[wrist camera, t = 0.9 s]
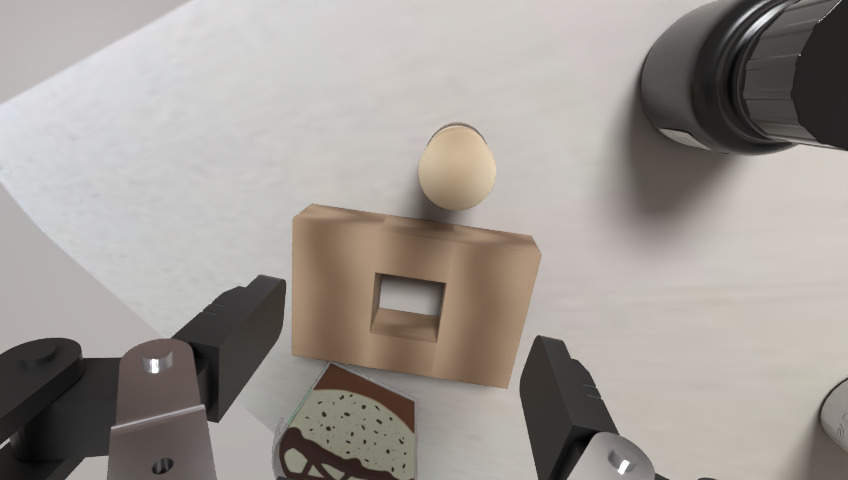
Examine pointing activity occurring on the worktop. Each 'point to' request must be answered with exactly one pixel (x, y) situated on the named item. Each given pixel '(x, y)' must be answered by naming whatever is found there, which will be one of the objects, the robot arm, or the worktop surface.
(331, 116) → the worktop surface
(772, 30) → the ink bottle
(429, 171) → the peg
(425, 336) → the board
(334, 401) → the food container
